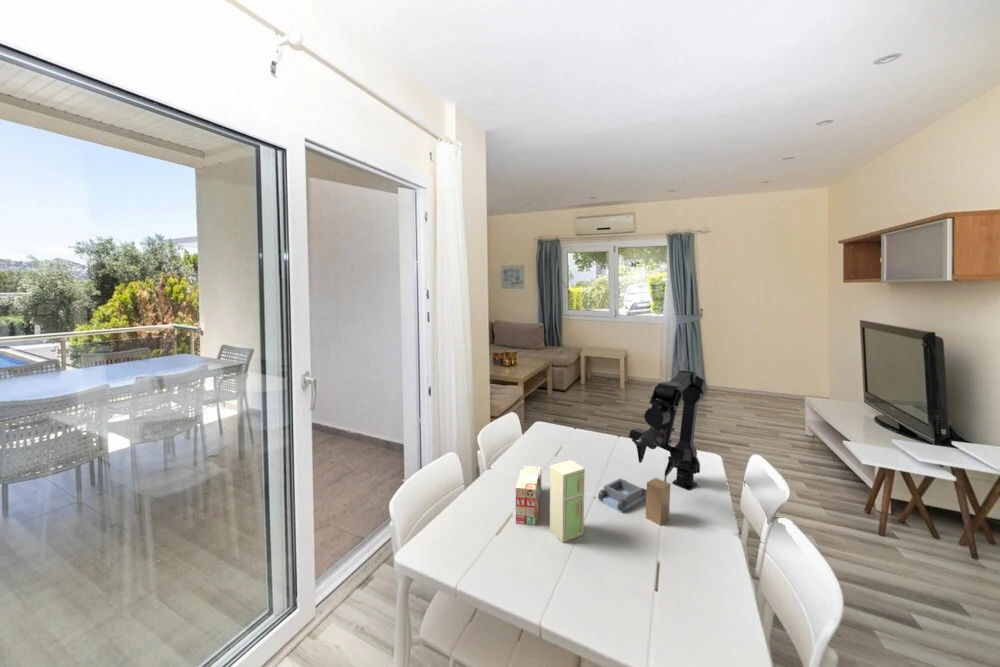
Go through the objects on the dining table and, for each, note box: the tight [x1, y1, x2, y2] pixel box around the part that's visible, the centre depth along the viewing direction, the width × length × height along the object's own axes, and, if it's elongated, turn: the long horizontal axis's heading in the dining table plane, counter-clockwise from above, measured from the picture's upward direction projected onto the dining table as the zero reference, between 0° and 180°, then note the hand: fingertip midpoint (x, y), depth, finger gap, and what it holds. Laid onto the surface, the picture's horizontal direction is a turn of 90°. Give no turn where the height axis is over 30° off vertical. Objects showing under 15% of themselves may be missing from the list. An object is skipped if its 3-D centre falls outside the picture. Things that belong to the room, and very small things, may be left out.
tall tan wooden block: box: [645, 477, 671, 526], centre depth 122 cm, size 5×5×12 cm
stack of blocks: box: [515, 465, 542, 527], centre depth 130 cm, size 21×6×12 cm, turn 169°
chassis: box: [597, 477, 647, 513], centre depth 134 cm, size 15×9×4 cm, turn 127°
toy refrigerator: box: [549, 459, 586, 543], centre depth 114 cm, size 8×7×21 cm
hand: (652, 468), depth 125 cm, fingers open, 9 cm apart
